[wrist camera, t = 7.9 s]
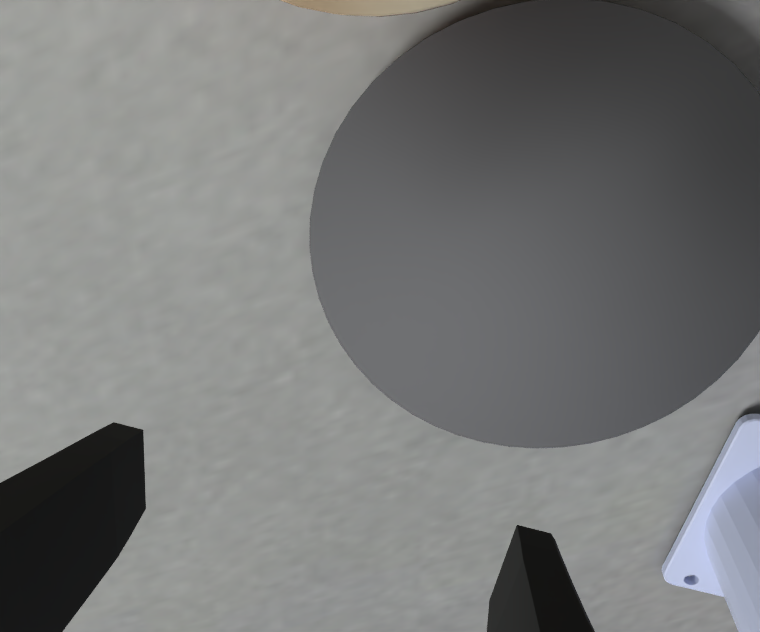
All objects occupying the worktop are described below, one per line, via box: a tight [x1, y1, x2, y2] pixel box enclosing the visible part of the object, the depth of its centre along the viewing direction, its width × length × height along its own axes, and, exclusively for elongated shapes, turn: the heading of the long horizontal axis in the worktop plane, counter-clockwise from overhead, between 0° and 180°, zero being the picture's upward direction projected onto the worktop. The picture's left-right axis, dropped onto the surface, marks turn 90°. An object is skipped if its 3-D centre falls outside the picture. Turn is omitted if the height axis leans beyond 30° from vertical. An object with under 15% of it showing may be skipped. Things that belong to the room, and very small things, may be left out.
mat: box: [310, 0, 760, 448], centre depth 18 cm, size 14×14×1 cm
